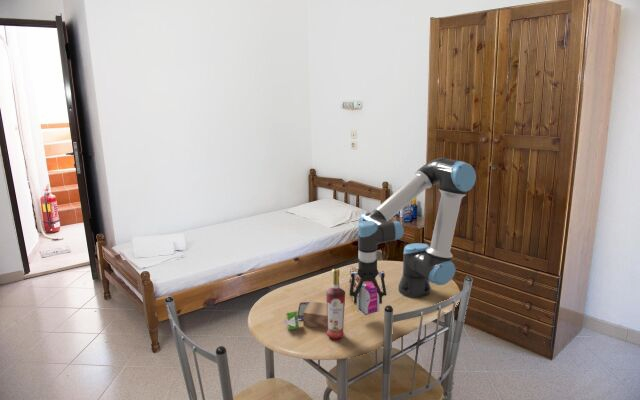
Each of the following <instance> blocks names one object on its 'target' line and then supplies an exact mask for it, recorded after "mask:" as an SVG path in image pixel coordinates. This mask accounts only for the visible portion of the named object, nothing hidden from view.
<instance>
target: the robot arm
mask: <svg viewBox="0 0 640 400" xmlns="http://www.w3.org/2000/svg"><path fill="white" fill-rule="evenodd" d="M476 179H477V175H476V170H475V169H474V167H473V166H472V165H471V164H469V163H468V162H465V161H462V160H456V159H452V158H447V157H438V158H435V159H433V160H430V161H428V163H425V164H423V166H421V167H420V168H419V169H417V170H416V171H415V174H414V176H413V177H412V178H411V179H409V180H408V181H407V182H405V183H404V184H403V185H402V186H401V187H400V188H399V189H397V190H396V191H395V192H394V193H392V194H391V195H390V196H389V197H388V198H387V199H386V200H384V201H383V202H382V203H381V204H380V205H378V206H377V207H376V208H375V209H373V211H371V212H364V213H362V214H361V215H360V217H359V218H358V219H359V220H358V227H357V228H358V229H357V239H358V240H357V242H358V248H357V249H358V251H357V252H358V253H357V255H358V260H357V261H358V264H357V265H358V269H357V271H353V270H352V271H351V272H350V276H351V281H350V287H349V296H351V297H352V296H353V304H355V305H356V312H357V313H359V312H360V310H359V291H360V288H361V286H362V284H364V282H371V283H372V284H373V285H374V286H375V287H377V312H378V313H379V312H380V305H381V304H383V297H384V296H387V287H386V281H385V276H386V273H385V271H384V270H382V271H379V270H378V245H379V244H383V243H384V244H385V243H388V242H394V241H398V240H401V239H402V238H403V237H404V231H405V230H404V226H403V224H402V223H401V222H400V221H396V220H394V221H390V220H391V219H392V218H393V217H394V216H396V215H397V214H398V213H399V212H401V211H402V210H403V209H405V207H406V206H407V205H409V204H410V203H411V202H412V201H413V200H414V199H416V198H417V197H418V196H419V195H421V194H422V193H423V192H424V191H425V190H427V189H431V188H433V186H436V185H438V191H439V192H440V198H439V204H438V208H437V214H436V218H435V222H434V228H433V231H432V238H431V241H430V245H429V244H427V243H421V242H420V243H419V242H417V243H415V242H414V243H408V244H407V245H405V247H404V249H403V252H402V253H403V259H402V260H403V262H402V265H403V266H402V275H401V278H400V279H399V283H398V288H397V289H398V292H399V293H400V294H401V295H402V296H405V297H409V298H413V299H414V298H415V299H421V298H427V297H428V296H430V294H431V293H432V286H431V283H432V284H435V285H436V286H444V285H446V284H448V283H449V282H451V281H452V280H453V278H454V276H455V274H456V266H455V264H454V262H452V260H453V257H454V255H453V254H452V253H451V248H452V244H453V238H454V235H455V230H456V225H457V220H458V216H459V212H460V207H461V204H462V199H463V198H464V197H465V196H467V192H468V191H470V190H471V189H473V187H474V186H475V183H476ZM357 276H358V277H359V281H358V283H357V285H356V287H355V282H356V279H355V278H357ZM378 276H379V278H380V282H381V288H382V290H381V288H380V286H379V284H378V282H377V279H376V278H377V277H378ZM354 287H355V290H354ZM377 312H376V313H377Z"/></svg>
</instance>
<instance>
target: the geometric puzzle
mask: <svg viewBox="0 0 640 400" xmlns="http://www.w3.org/2000/svg"><path fill="white" fill-rule="evenodd" d="M302 321H303V318H301V317H300V318H299V317H298V312H297V311H292V312H291V311H290V312H287V313H286V317H285V318H284V319H283V323H284V324H285V325H287V328H288V331H290V330H294V329H295V330H296V329H300V325H299V323H300V322H301V323H302Z"/></svg>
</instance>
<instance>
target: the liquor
mask: <svg viewBox="0 0 640 400" xmlns="http://www.w3.org/2000/svg"><path fill="white" fill-rule="evenodd" d="M331 271H332V272H331V274H332V282H331V283H332V286H331V287H330V288H329V289H328V290H326V291H325V295H326V303H327V318H328V327H327V331H326V335H327V337H329V338H330V339H332V340H340V339H341V338H342V337H344V335H345V331H344V322H345V321H344V320H345V319H344V317H345V304H346V302H345V301H346V291H345V290H344V289H343V288H341V287H340V269H339V268H332V269H331Z"/></svg>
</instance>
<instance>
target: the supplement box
mask: <svg viewBox="0 0 640 400" xmlns="http://www.w3.org/2000/svg"><path fill="white" fill-rule="evenodd" d="M377 294H378V293H377V287H375V286H374V284H373V282H372V281H367V282H365V283H363V284H362V286H361V288H360V291H359V293H358V295H359V312H361V313H363V315H364V316H368V315H370V314H374V313H377Z"/></svg>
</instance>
